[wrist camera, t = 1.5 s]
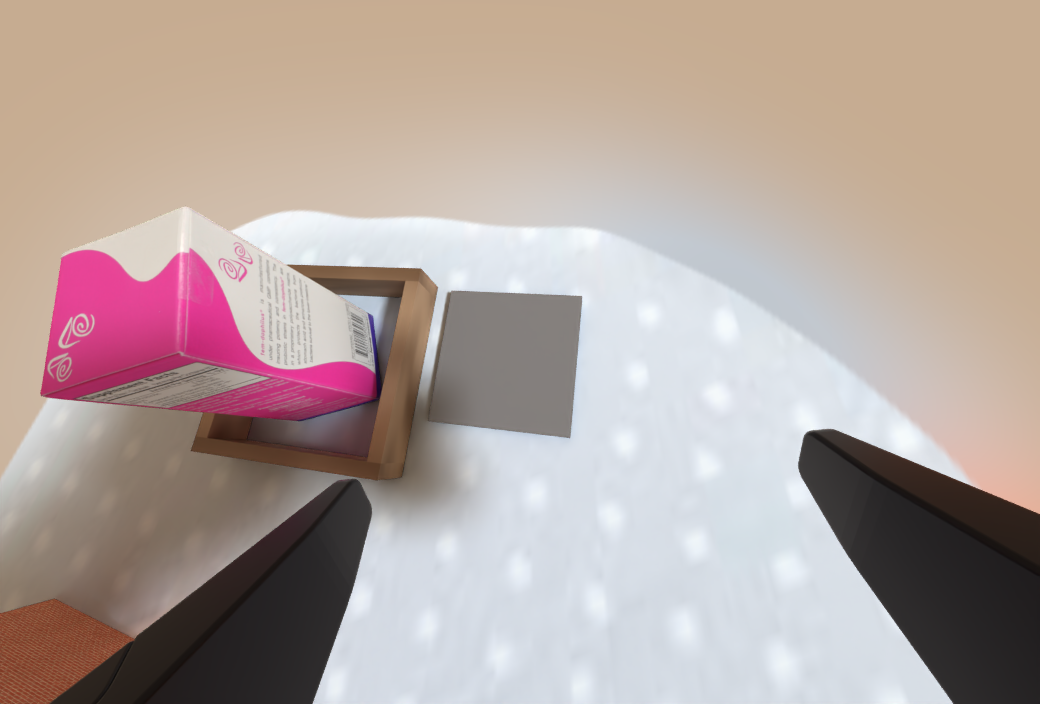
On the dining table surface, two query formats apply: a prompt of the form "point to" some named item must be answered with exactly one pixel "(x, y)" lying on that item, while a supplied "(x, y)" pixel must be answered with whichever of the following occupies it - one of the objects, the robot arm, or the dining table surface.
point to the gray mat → (508, 362)
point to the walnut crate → (397, 392)
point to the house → (50, 650)
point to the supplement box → (203, 327)
